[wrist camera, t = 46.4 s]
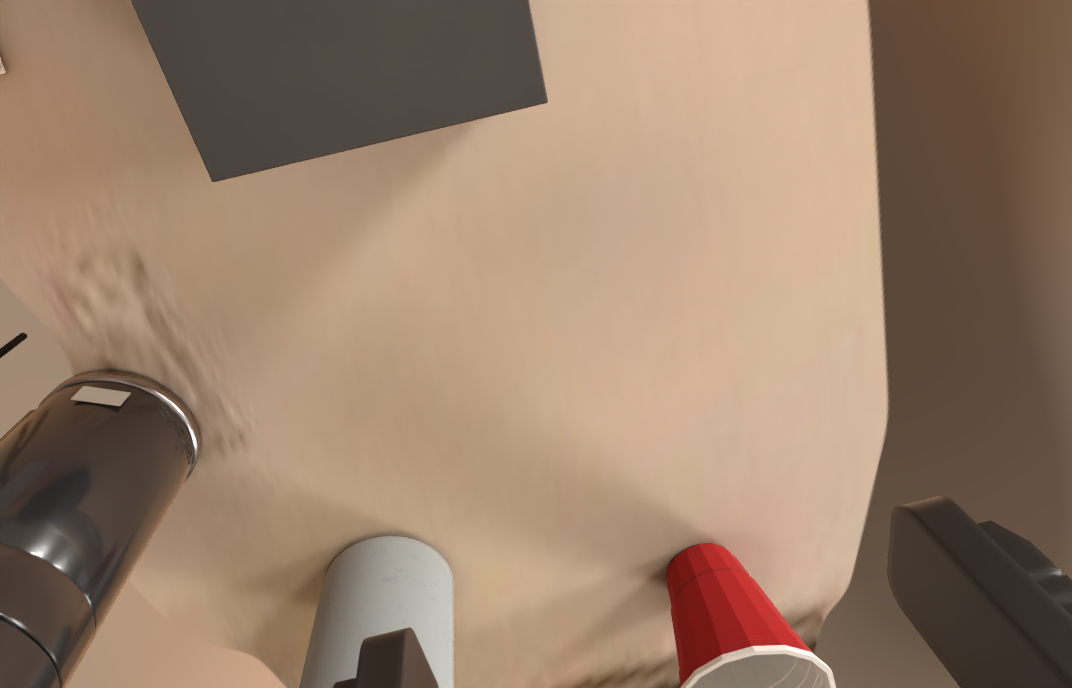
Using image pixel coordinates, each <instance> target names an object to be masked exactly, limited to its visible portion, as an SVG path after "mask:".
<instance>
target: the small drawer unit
mask: <svg viewBox="0 0 1072 688" xmlns="http://www.w3.org/2000/svg"><path fill="white" fill-rule="evenodd" d="M131 1H132V4H133V6H134V8H135V10H136V13H137V15H138V17H139V19H140V22H141V24H142V26H143V28H144V30H145V33H146V35H147V37H148V39H149V42H150V44H151V46H152V48H153V51H154V53H155V55H156V57H157V59H158V62H159V64H160V66H161V68H162V71H163V73H164V75H165V77H166V79H167V82H168V84H169V86H170V88H171V91H172V93H173V95H174V97H175V100H176V102H177V104H178V106H179V108H180V111H181V113H182V115H183V117H184V120H185V122H186V124H187V126H188V128H189V131H190V133H191V135H192V137H193V140H194V142H195V144H196V146H197V149H198V151H199V153H200V155H201V157H202V160H203V162H204V164H205V166H206V169H207V171H208V173H209V175H210V177H211V180H212V182H217V181H221V180H225V179H229V178H233V177H238V176H242V175H246V174H250V173H254V172H259V171H263V170H267V169H271V168H275V167H280V166H284V165H288V164H292V163H296V162H301V161H305V160H309V159H313V158H317V157H322V156H326V155H330V154H334V153H338V152H343V151H347V150H351V149H355V148H359V147H364V146H368V145H372V144H376V143H380V142H385V141H389V140H393V139H397V138H401V137H406V136H410V135H414V134H418V133H422V132H427V131H431V130H435V129H439V128H443V127H448V126H452V125H456V124H460V123H464V122H469V121H473V120H477V119H481V118H485V117H490V116H494V115H498V114H502V113H506V112H511V111H515V110H519V109H523V108H528V107H532V106H536V105H540V104H544V103H547V102H548V99H547V94H546V89H545V83H544V78H543V73H542V67H541V62H540V57H539V51H538V46H537V41H536V35H535V30H534V25H533V20H532V14H531V9H530V4H529V0H131Z"/></svg>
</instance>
